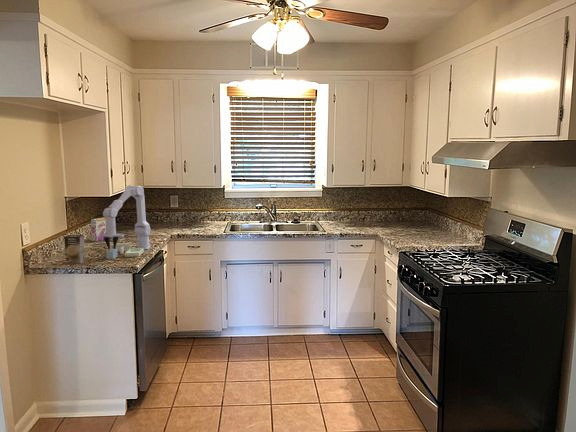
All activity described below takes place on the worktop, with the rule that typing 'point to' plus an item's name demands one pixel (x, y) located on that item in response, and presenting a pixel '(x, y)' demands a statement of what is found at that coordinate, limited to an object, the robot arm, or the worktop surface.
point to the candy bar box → (98, 228)
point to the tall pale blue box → (111, 253)
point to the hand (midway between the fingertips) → (111, 248)
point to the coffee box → (74, 248)
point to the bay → (122, 247)
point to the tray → (134, 252)
